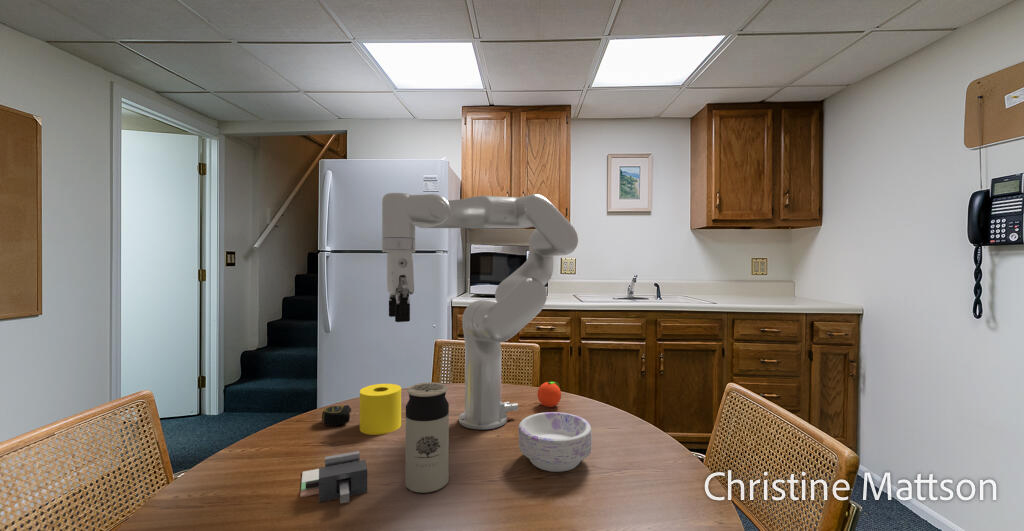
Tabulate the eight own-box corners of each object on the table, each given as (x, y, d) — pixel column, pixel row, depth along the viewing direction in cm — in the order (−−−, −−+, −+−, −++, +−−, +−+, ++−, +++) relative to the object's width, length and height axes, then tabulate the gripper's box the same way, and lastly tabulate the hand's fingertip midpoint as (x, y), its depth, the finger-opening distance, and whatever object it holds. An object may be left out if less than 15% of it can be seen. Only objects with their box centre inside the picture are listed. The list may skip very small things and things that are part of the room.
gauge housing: (365, 481, 79) (365, 459, 79) (367, 492, 76) (367, 469, 76) (318, 490, 76) (319, 467, 76) (318, 502, 72) (318, 478, 72)
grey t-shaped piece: (359, 476, 81) (359, 450, 81) (363, 504, 71) (363, 475, 71) (305, 487, 77) (305, 459, 77) (303, 518, 67) (303, 487, 67)
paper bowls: (507, 471, 84) (507, 432, 83) (532, 441, 98) (532, 407, 98) (583, 487, 78) (583, 444, 78) (597, 452, 92) (597, 416, 92)
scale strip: (321, 469, 84) (321, 468, 84) (321, 493, 75) (321, 492, 75) (302, 472, 83) (302, 471, 83) (300, 497, 74) (300, 496, 74)
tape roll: (406, 428, 105) (407, 391, 105) (366, 438, 99) (366, 398, 99) (393, 416, 113) (393, 381, 113) (355, 424, 107) (355, 387, 107)
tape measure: (349, 426, 106) (349, 412, 106) (320, 429, 104) (320, 414, 104) (351, 417, 113) (351, 403, 113) (323, 419, 111) (323, 405, 111)
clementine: (550, 399, 127) (551, 376, 127) (568, 405, 122) (568, 381, 122) (532, 405, 122) (532, 381, 122) (550, 412, 116) (550, 386, 116)
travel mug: (412, 471, 83) (412, 381, 83) (451, 472, 83) (452, 382, 83) (400, 493, 75) (400, 394, 75) (444, 494, 75) (444, 394, 75)
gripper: (422, 245, 92) (422, 323, 92) (408, 247, 108) (408, 313, 108) (387, 244, 89) (387, 325, 89) (377, 247, 105) (377, 315, 105)
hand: (398, 318), depth 99 cm, fingers open, 9 cm apart
